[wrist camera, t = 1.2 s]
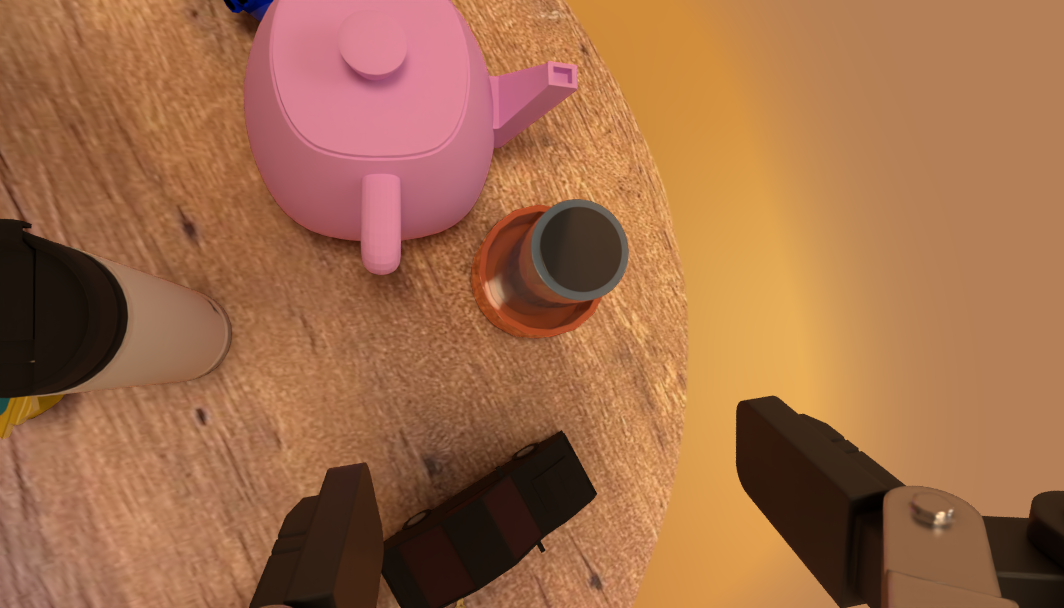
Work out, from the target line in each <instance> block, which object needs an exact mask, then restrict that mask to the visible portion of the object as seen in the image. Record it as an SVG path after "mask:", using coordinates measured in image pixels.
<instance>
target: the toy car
mask: <svg viewBox="0 0 1064 608" xmlns="http://www.w3.org/2000/svg"><path fill="white" fill-rule="evenodd" d="M512 459H513V460H512V461H510V462H508V463H507V464H505V465H503V466H502V467H500V466H498V467H497V468H495V469H496V470H495V471H494V472H492V473H491V474H489V475H487V476H486V477H484V478H483V479H481V480H479V481H478V482H476V483H475V484H473V485H471V486H470V487H468V488H467V489H465V490H464V491H462V492H460V493H459V494H457V495H456V496H454V497H452V498H451V499H449V500H448V501H446V502H445V503H443V504H441V505H440V506H438V507H437V508H435V509H433V510H432V511H431V510H425V511H422V512H420V513H418V514H416V515H415V516H413V517H412V518H411V519H409V520H408V521H407V522H406V523H405V524H404V525H403V527H402V529H403V530H401V531H400V532H398V533H397V534H395V535H394V536H392V537H391V538H389V539H388V540H386V541H385V542H383V543H384V554H383V563H382V570H381V573H382V575H383V577H384V579H385V580H386V582H387V584H388V586H389V588H390V589H391V591H392V593H393V595H394V597H395V598H396V600H397V602H398V604H399V606H400V607H401V608H444V607H446V606H448V605H450V604H452V603H454V602H456V601H458V600H460V599H462V598H464V597H466V596H468V595H470V594H472V593H474V592H476V591H478V590H479V589H481V588H483V587H484V586H485V585H487V584H488V583H490V582H491V581H493V580H494V579H496V578H497V577H499V576H500V575H502V574H503V573H505V572H506V571H508V570H509V569H511V568H512V567H514V566H515V565H517V564H518V563H519V562H520V561H521V560H522V559H523V558H524V557H525V556H526V555H527V554H528V553H529V552H530V551H531V550H532V549H533V548H534V547H535V546H536V545H537V546H538V548H539V549H540V551H541V553H542V552H544V551H545V548H544V547H543V545H542V543H541V540H542V539H543V538H544V537H545V536H546V535H548V534H549V533H550V532H552V531H553V530H555V529H556V528H558V527H559V526H561V525H562V524H564V523H565V522H567V521H568V520H569V519H571V518H572V517H573V516H574V515H576V514H577V513H578V512H579V511H580V510H581V509H583V508H584V507H585V506H586V505H587V504H588V503H590V502H591V501H592V500H593V499H594V498H595V496H596V495H597V493H596V491H595V489H594V487H593V485H592V483H591V481H590V480H589V478H588V476H587V474H586V472H585V470H584V468H583V467H582V465H581V463H580V461H579V459H578V457H577V456H576V454H575V452H574V450H573V448H572V446H571V444H570V443H569V441H568V439H567V437H566V435H565V433H563V431H560V432H558V433H556V434H555V435H553V436H551V437H550V438H548V439H546V440H545V441H543V442H541V443H540V444H538V443H534V444H531V445H528V446H527V447H525V448H523V449H521V450H520V451H518V452H517V453H516V454H515V455H514V456H513V458H512Z"/></svg>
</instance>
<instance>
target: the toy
mask: <svg viewBox="0 0 1064 608" xmlns="http://www.w3.org/2000/svg"><path fill="white" fill-rule="evenodd" d="M64 395H65V394H60V395H49V396H26V397H16V398H0V437H1V438H2V439H4V438H8V437H10V434H11V431H12V429H13V426H14V425H19V424H23V423H24V422H25V420H27V419H32V418H35V417H36V416H38V415H40V414H41V413H43V412H45V411H46V410H48V409H49V408H51V407H52V406H54V405H55V404H56V403H57V402H59V401H60V400H61V399H62V397H63V396H64Z"/></svg>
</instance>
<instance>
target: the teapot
mask: <svg viewBox="0 0 1064 608" xmlns="http://www.w3.org/2000/svg"><path fill="white" fill-rule="evenodd" d="M577 89H578V79H577V65H572V64H565V63H559V62H552V61H548V62H547V63H546V64H543V65H539V66H535V67H531V68H527V69H524V70H520V71H516V72H512V73H508V74H504V75H501V76H489V74H488V71H487V67H486V65H485V62H484V59H483V56H482V53H481V51H480V48H479V46H478V43H477V41H476V39H475V37H474V35H473V33H472V31H471V30H470V28H469V26H468V24H467V22H466V20H465V19H464V18H463V16H462V15H461V13H460V12H459V11H458V9H457V8H456V7H455V5H454V4H453V3H452V2H451V0H274V1H273V2H272V3H271V5H270V6H269V8H268V9H267V11H266V13H265V15H264V17H263V19H262V21H261V23H260V25H259V27H258V29H257V32H256V35H255V38H254V40H253V43H252V47H251V51H250V55H249V58H248V62H247V68H246V74H245V81H244V109H245V120H246V127H247V132H248V137H249V142H250V146H251V150H252V153H253V156H254V159H255V162H256V165H257V167H258V169H259V171H260V174H261V176H262V178H263V180H264V182H265V184H266V186H267V188H268V189H269V191H270V193H271V194H272V196H273V198H274V199H275V201H276V202H277V204H278V205H279V206H280V207H281V208H282V210H283V211H284V212H285V213H286V214H287V215H288V216H289V217H291V218H292V219H293V220H294V221H295V222H297V223H298V224H300V225H302V226H303V227H305V228H307V229H308V230H311V231H313V232H316V233H319V234H321V235H324V236H329V237H334V238H340V239H345V240H355V241H361V256H362V262H363V265H364V266H365V268H366V269H367V270H368V271H370V272H371V273H374V274H379V275H384V274H389V273H392V272H393V271H395V270H396V269H397V267H398V266H399V263H400V258H401V241H402V240H408V239H414V238H421V237H424V236H428V235H432V234H436V233H440V232H442V231H444V230H446V229H448V228H450V227H452V226H453V225H455V224H456V223H458V222H459V221H461V220H462V219H463V218H464V217H465V216H466V215H467V214H468V213H469V212H470V211H471V209H472V207H473V206H474V204H475V203H476V201H477V200H478V198H479V195H480V193H481V191H482V189H483V186H484V184H485V181H486V178H487V175H488V172H489V169H490V165H491V160H492V155H493V149H494V148H501V147H502V146H503V145H505V144H506V143H507V142H509V141H510V140H511V139H513V138H514V137H515V136H517V135H518V134H519V133H521V132H522V131H523V130H525V129H526V128H527V127H528V126H530V125H531V124H532V123H534V122H535V121H536V120H538V119H539V118H540V117H542V116H543V115H544V114H546V113H547V112H548V111H550V110H551V109H552V108H554V107H555V106H556V105H558V104H559V103H560V102H562V101H563V100H564V99H566V98H567V97H568V96H570V95H571V94H572V93H574V92H575V91H576V90H577Z"/></svg>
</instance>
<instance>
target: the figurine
mask: <svg viewBox="0 0 1064 608" xmlns="http://www.w3.org/2000/svg"><path fill="white" fill-rule="evenodd" d="M273 1H274V0H224V2H225V4H226V5H227V7H228V8H229V9H230V10H231V11H232V12H234V13H240V12H241V11H242V10H244V11H246V12H247V13H249V14H250V15H251V16H253V17H254V18H255V19H257V20H258V21H259V22H261V21H262V19H263V17H264V15H265V13H266V11H267V9H268V8H269V6H270V5H271V3H272V2H273Z"/></svg>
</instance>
